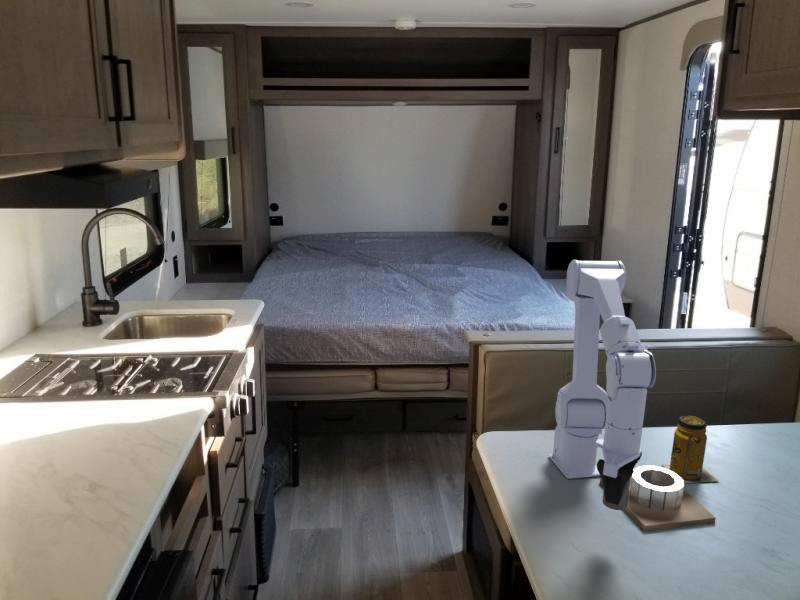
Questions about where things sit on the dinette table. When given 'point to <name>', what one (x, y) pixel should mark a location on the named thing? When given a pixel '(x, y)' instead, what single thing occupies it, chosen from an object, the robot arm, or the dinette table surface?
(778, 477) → the dinette table surface
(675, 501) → the white faceted ring
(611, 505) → the dark rounded capsule
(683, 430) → the condiment
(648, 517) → the walnut board
